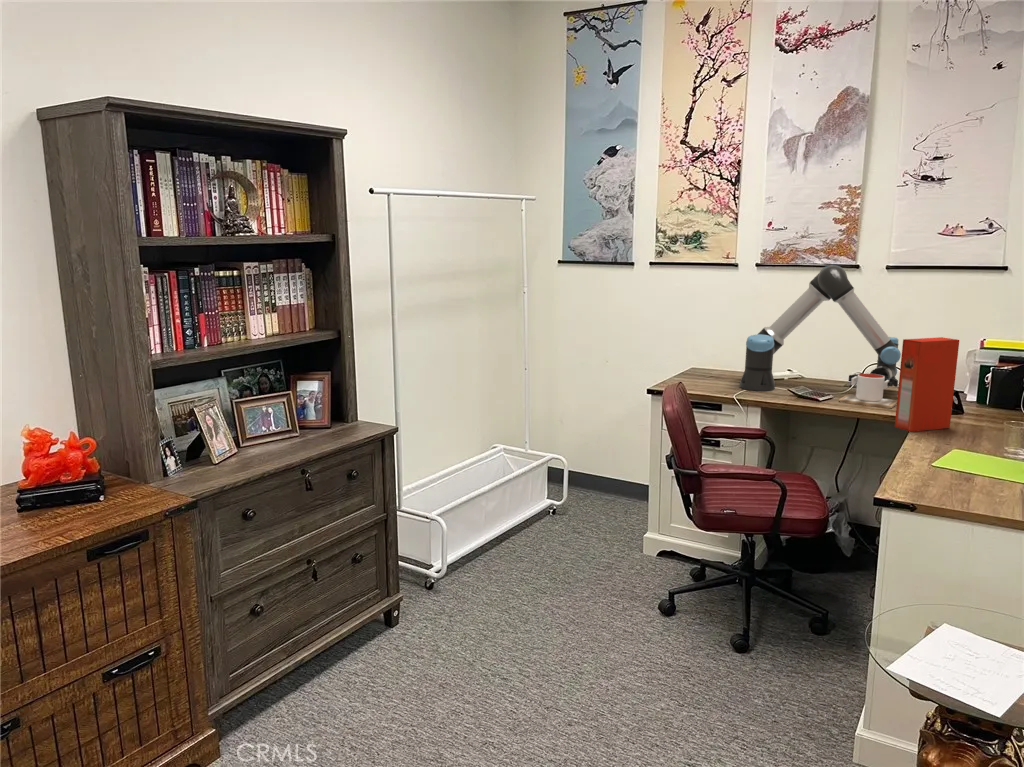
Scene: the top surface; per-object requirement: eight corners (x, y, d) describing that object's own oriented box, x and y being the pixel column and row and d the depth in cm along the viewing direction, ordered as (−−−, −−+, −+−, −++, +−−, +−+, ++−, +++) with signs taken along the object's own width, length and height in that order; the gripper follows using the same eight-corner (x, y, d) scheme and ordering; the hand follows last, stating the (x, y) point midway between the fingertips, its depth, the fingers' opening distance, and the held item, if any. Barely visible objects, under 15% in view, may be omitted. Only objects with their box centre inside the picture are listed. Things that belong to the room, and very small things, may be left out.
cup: (876, 397, 317) (879, 373, 315) (886, 402, 307) (888, 378, 305) (852, 396, 318) (854, 373, 316) (860, 401, 308) (862, 377, 306)
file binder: (893, 426, 273) (903, 338, 267) (930, 423, 279) (940, 336, 272) (912, 432, 266) (921, 342, 259) (949, 428, 271) (960, 339, 265)
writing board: (838, 402, 313) (838, 399, 313) (847, 396, 324) (847, 393, 324) (891, 408, 301) (891, 406, 301) (898, 402, 312) (898, 400, 312)
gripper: (910, 388, 318) (899, 396, 301) (850, 381, 333) (836, 389, 316) (912, 370, 317) (901, 378, 300) (851, 364, 331) (838, 371, 314)
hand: (868, 383), depth 308 cm, fingers open, 12 cm apart
